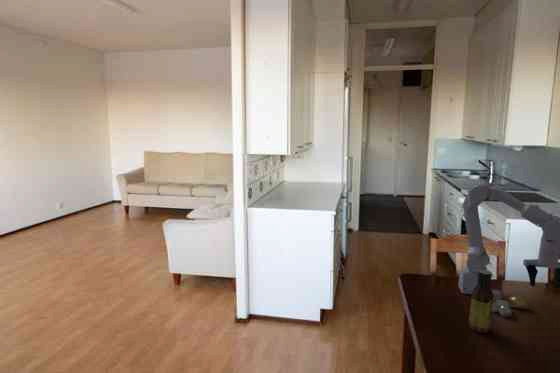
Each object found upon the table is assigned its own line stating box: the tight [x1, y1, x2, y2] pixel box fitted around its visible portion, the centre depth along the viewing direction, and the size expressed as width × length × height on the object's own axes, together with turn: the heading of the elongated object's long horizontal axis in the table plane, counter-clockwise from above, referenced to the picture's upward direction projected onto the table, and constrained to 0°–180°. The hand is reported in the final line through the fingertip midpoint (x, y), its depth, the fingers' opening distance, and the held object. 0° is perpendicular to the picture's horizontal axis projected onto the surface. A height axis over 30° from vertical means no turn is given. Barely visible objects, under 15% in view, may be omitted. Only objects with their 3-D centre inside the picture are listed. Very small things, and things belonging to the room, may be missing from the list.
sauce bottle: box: [468, 269, 493, 334], centre depth 124 cm, size 7×6×20 cm
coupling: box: [507, 295, 529, 310], centre depth 140 cm, size 5×4×4 cm
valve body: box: [492, 289, 513, 318], centre depth 140 cm, size 6×14×4 cm, turn 167°
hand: (543, 286), depth 137 cm, fingers open, 7 cm apart
